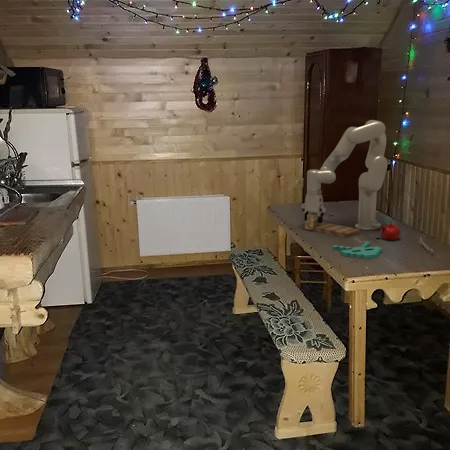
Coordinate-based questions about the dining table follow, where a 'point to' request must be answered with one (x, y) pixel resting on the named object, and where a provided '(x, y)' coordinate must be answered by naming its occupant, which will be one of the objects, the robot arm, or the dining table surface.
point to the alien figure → (360, 251)
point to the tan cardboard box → (311, 221)
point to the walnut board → (335, 230)
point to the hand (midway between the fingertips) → (313, 221)
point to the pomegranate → (390, 232)
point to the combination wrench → (425, 246)
